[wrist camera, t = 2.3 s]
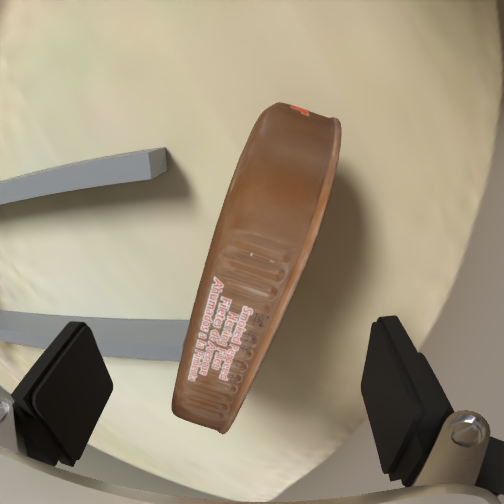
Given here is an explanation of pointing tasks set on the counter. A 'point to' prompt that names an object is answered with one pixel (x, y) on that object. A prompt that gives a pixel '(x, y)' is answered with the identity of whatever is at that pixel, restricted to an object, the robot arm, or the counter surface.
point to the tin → (255, 260)
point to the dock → (104, 329)
